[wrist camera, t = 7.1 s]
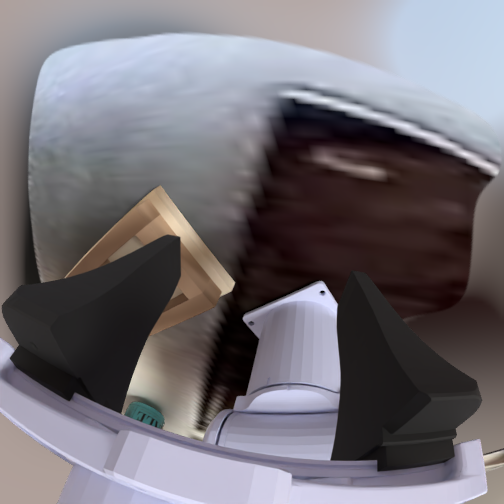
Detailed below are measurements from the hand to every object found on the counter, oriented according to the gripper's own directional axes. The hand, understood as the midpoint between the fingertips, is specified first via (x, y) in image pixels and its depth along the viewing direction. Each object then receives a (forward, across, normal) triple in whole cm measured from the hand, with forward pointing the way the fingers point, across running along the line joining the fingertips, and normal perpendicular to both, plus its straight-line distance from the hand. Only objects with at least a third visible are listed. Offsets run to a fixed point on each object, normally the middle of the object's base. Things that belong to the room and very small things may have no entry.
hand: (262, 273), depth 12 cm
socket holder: (+9, +13, +12) cm, 20 cm away
